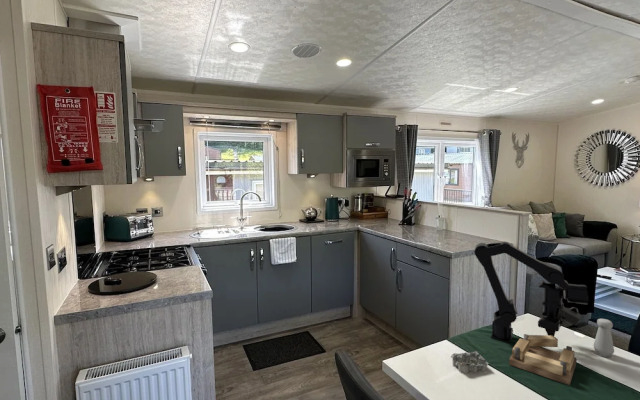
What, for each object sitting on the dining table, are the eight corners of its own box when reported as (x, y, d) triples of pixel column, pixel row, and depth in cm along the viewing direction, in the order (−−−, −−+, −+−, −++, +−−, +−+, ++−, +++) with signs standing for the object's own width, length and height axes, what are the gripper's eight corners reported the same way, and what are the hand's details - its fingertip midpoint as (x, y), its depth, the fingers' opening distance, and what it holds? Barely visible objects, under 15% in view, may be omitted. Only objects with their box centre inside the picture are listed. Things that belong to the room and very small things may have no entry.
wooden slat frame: (508, 364, 114) (509, 348, 114) (521, 346, 127) (521, 331, 126) (569, 385, 103) (570, 367, 102) (576, 362, 115) (577, 346, 115)
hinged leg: (525, 346, 122) (526, 337, 122) (521, 342, 125) (521, 333, 125) (557, 347, 122) (557, 337, 121) (552, 343, 125) (552, 333, 124)
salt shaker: (618, 359, 117) (619, 324, 116) (599, 358, 118) (601, 322, 117) (607, 351, 123) (608, 317, 122) (589, 349, 124) (591, 316, 123)
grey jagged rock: (460, 375, 109) (460, 363, 109) (449, 362, 117) (449, 351, 116) (490, 372, 111) (490, 360, 110) (476, 360, 118) (477, 349, 118)
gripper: (576, 313, 112) (575, 356, 113) (582, 297, 126) (580, 337, 127) (538, 304, 120) (537, 346, 121) (547, 291, 134) (546, 328, 135)
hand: (551, 339), depth 126 cm, fingers closed
